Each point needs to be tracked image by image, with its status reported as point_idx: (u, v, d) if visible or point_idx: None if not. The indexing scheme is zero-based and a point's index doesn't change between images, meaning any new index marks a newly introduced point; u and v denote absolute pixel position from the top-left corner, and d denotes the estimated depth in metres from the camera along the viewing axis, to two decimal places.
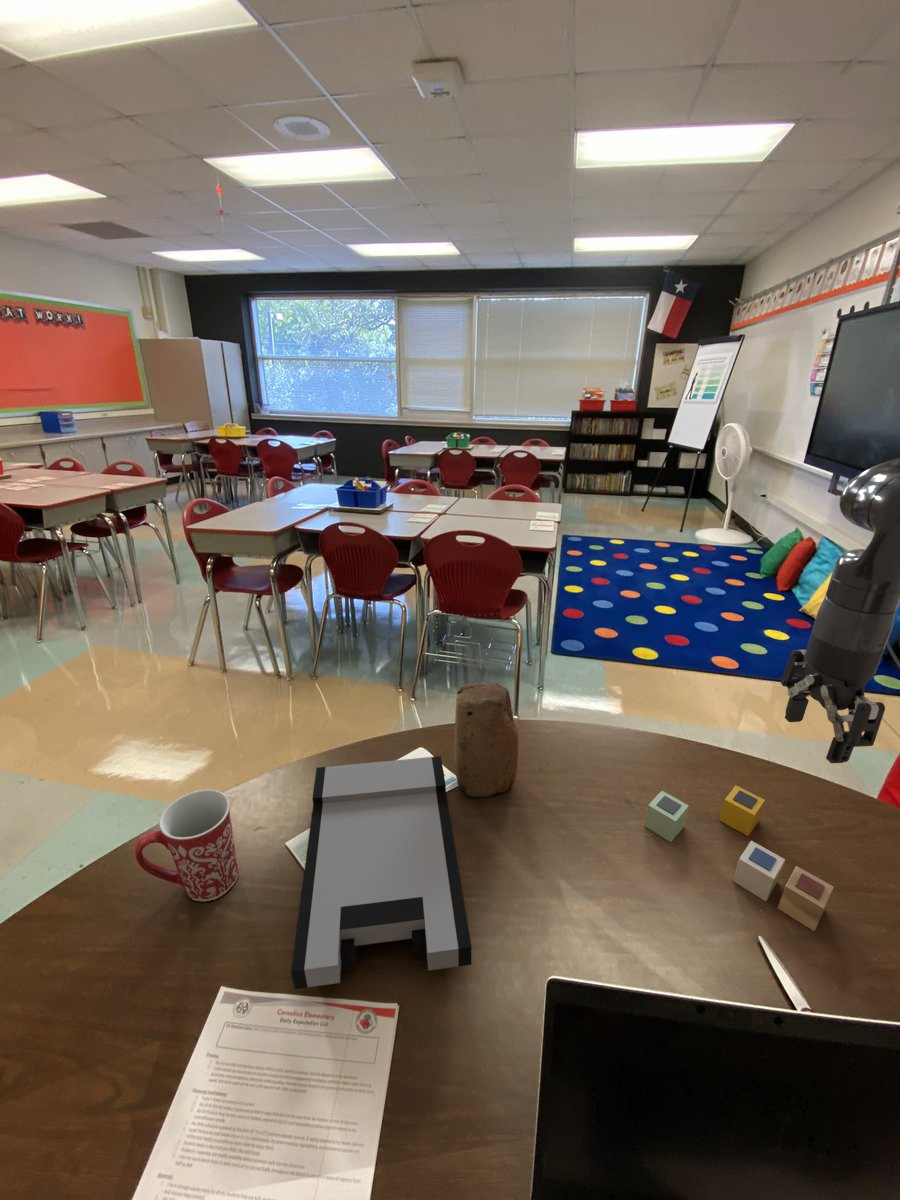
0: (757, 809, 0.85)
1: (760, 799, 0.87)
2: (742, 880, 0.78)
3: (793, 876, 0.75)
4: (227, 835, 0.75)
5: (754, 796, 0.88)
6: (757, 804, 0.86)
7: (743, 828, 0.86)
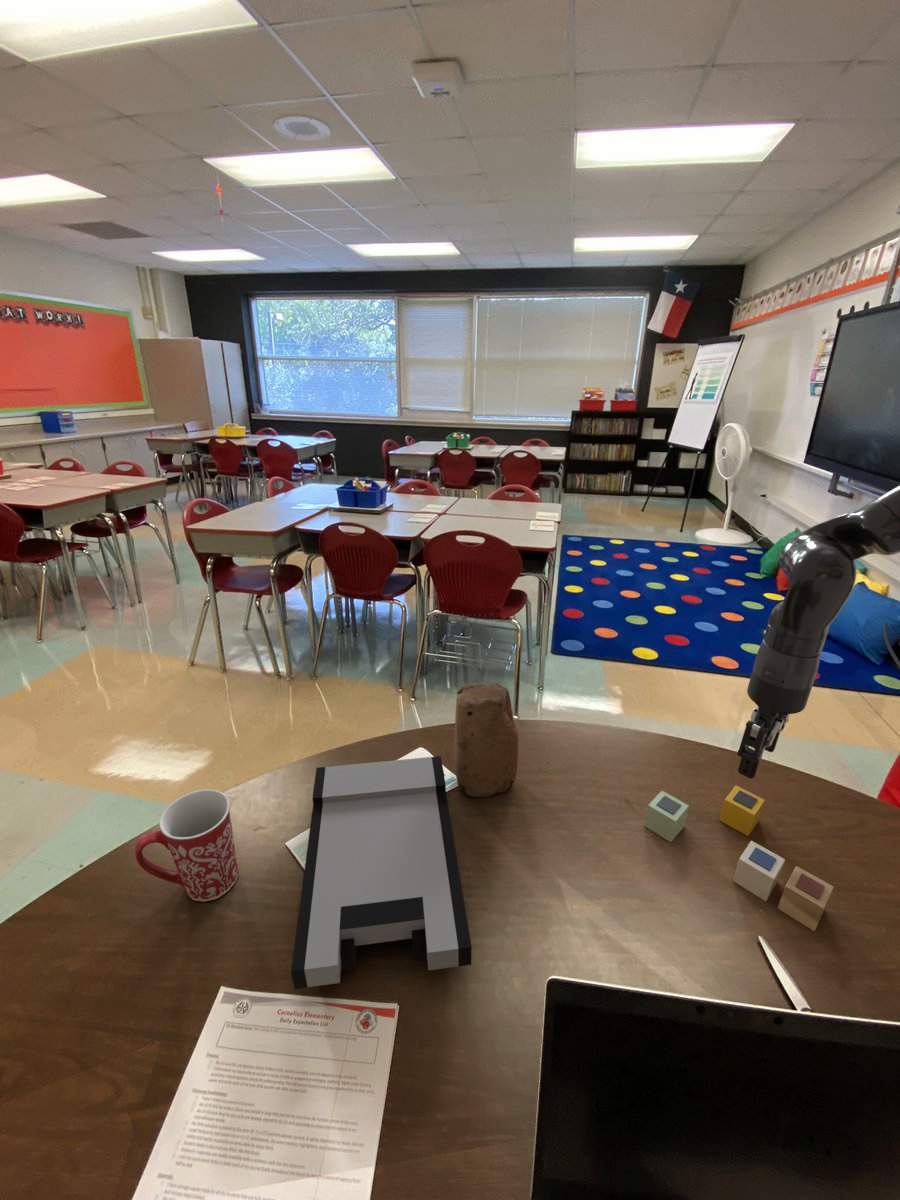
0: (757, 809, 0.85)
1: (760, 799, 0.87)
2: (742, 880, 0.78)
3: (793, 876, 0.75)
4: (227, 835, 0.75)
5: (754, 796, 0.88)
6: (757, 804, 0.86)
7: (743, 828, 0.86)
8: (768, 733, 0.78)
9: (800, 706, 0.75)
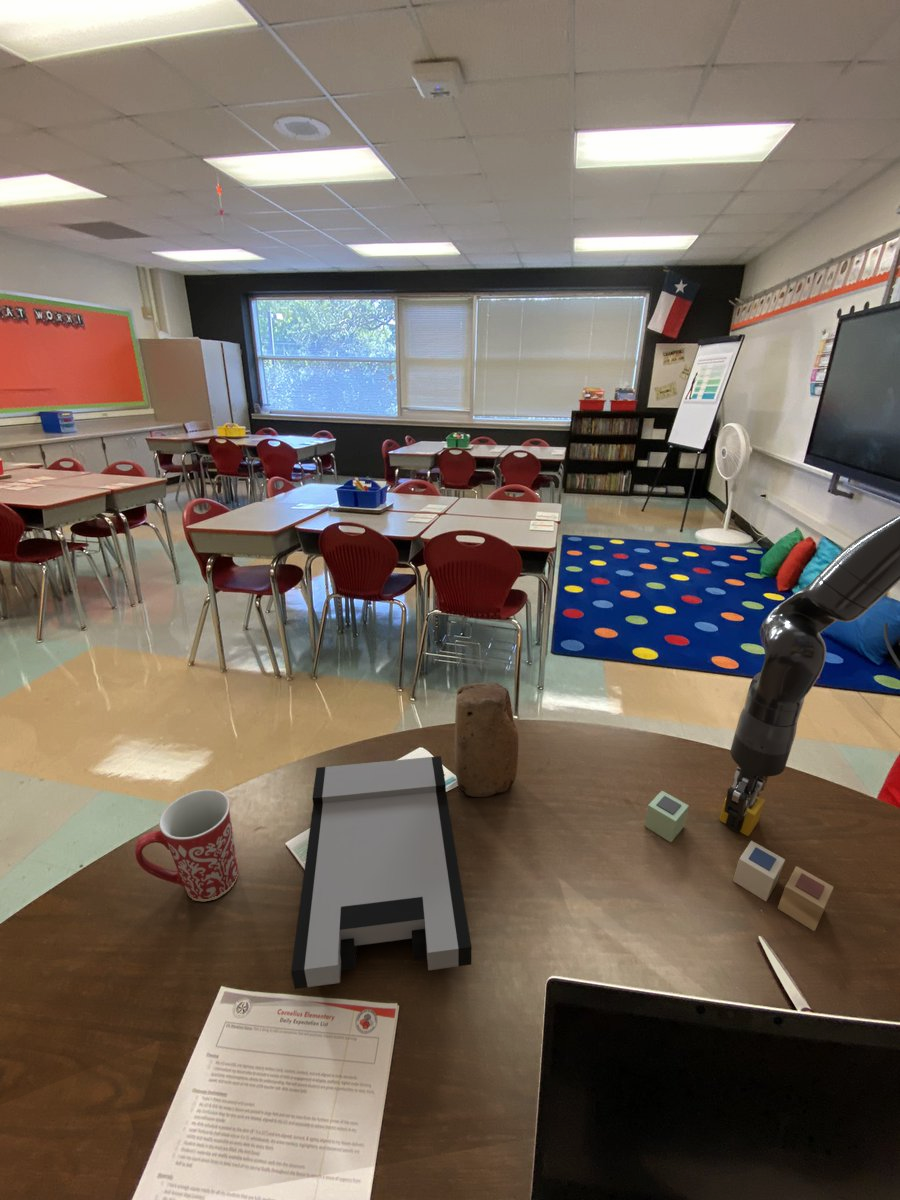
0: (757, 809, 0.85)
1: (760, 799, 0.87)
2: (742, 880, 0.78)
3: (793, 876, 0.75)
4: (227, 835, 0.75)
5: None
6: (757, 804, 0.86)
7: (743, 828, 0.86)
8: (750, 792, 0.83)
9: (779, 769, 0.80)
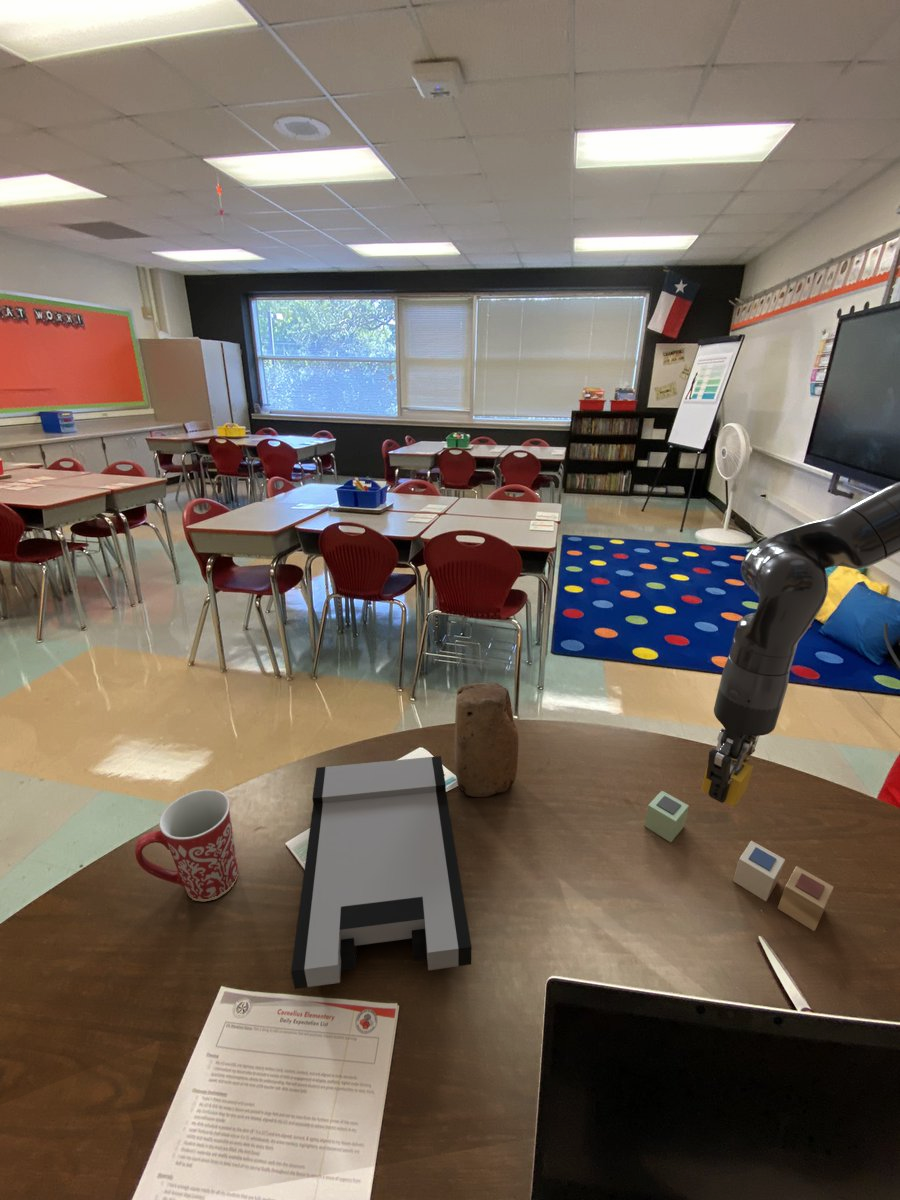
0: (744, 776, 0.75)
1: (747, 765, 0.77)
2: (742, 880, 0.78)
3: (793, 876, 0.75)
4: (227, 835, 0.75)
5: None
6: (743, 770, 0.76)
7: (728, 798, 0.76)
8: (735, 756, 0.73)
9: (769, 727, 0.70)
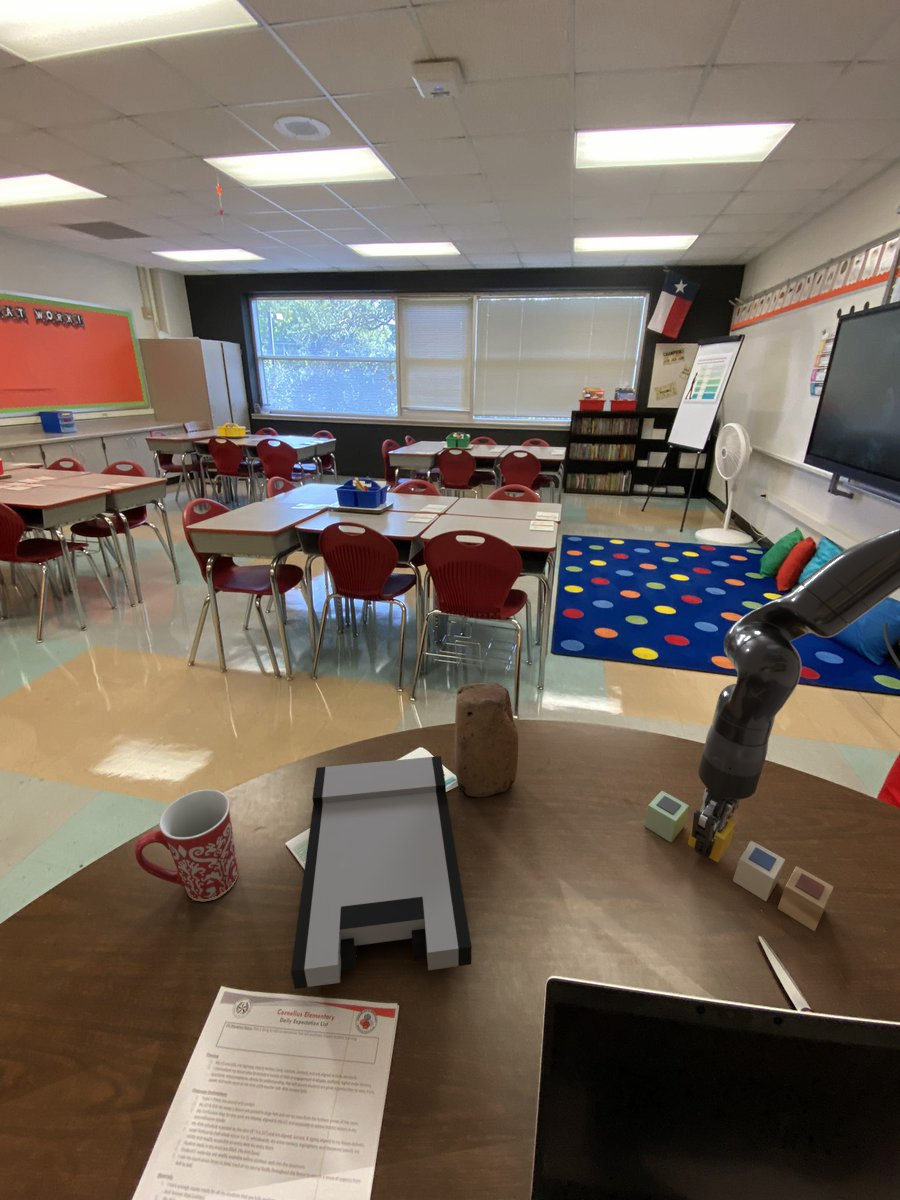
0: (727, 833, 0.79)
1: (730, 822, 0.81)
2: (742, 880, 0.78)
3: (793, 876, 0.75)
4: (227, 835, 0.75)
5: None
6: (727, 827, 0.80)
7: (712, 853, 0.80)
8: (719, 816, 0.77)
9: (749, 791, 0.74)
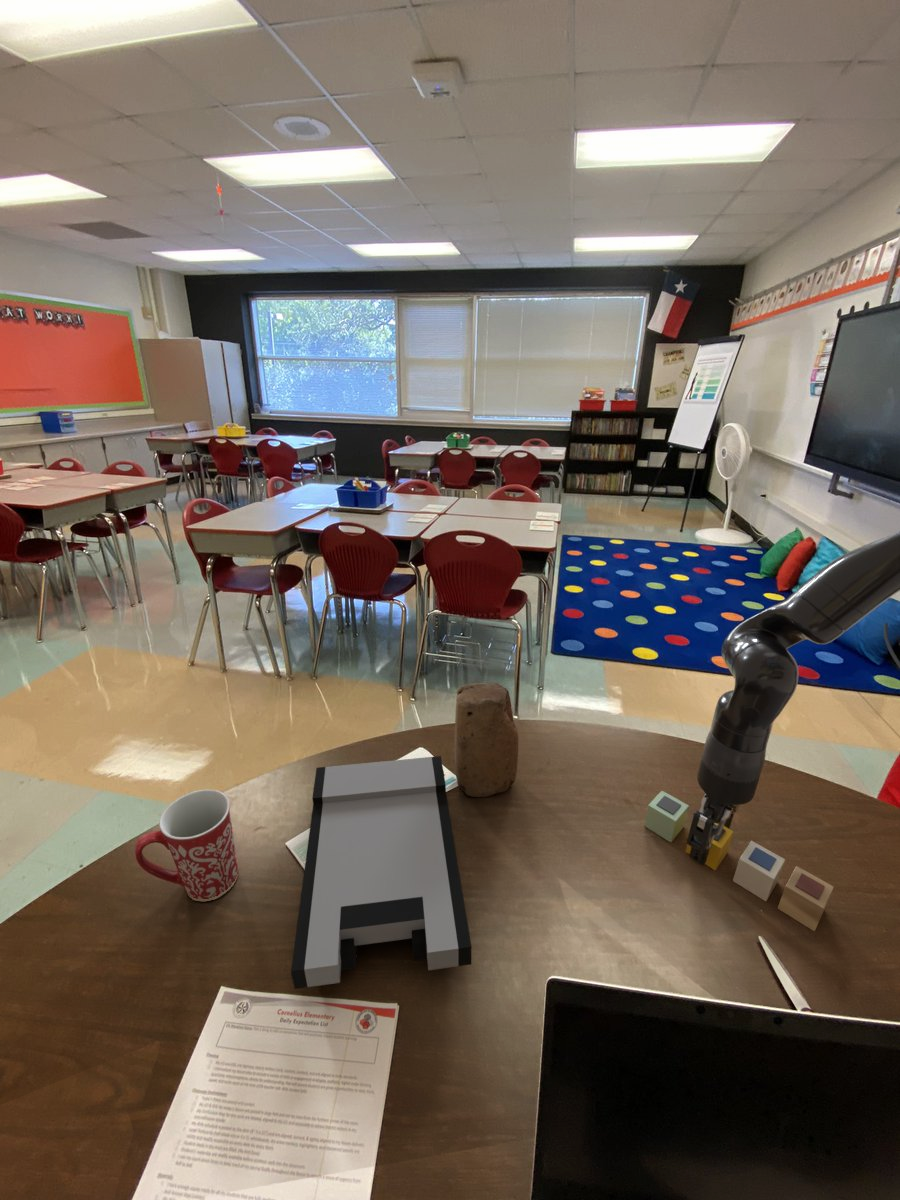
0: (724, 842, 0.80)
1: (728, 830, 0.82)
2: (742, 880, 0.78)
3: (793, 876, 0.75)
4: (227, 835, 0.75)
5: None
6: (724, 835, 0.81)
7: (710, 861, 0.81)
8: (717, 821, 0.78)
9: (748, 797, 0.74)
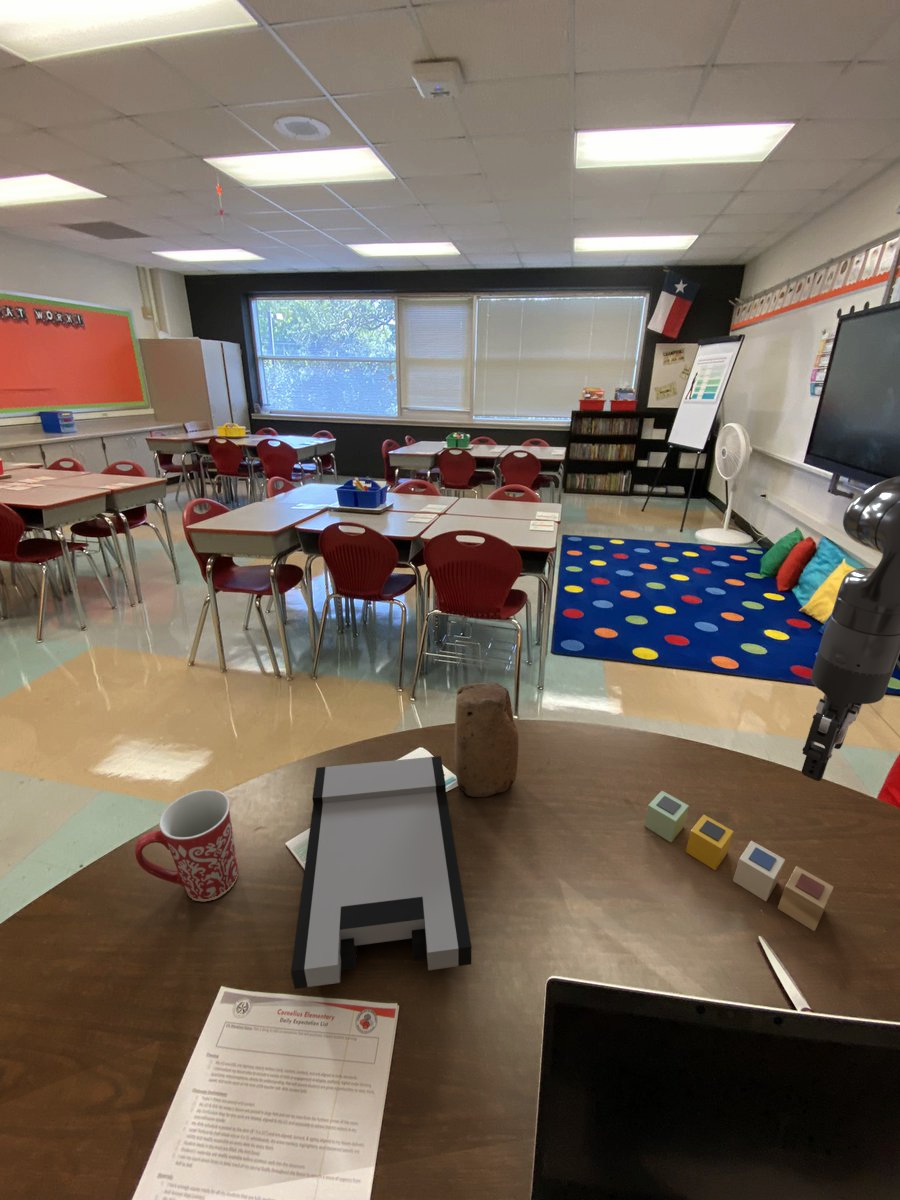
0: (724, 842, 0.80)
1: (728, 830, 0.82)
2: (742, 880, 0.78)
3: (793, 876, 0.75)
4: (227, 835, 0.75)
5: (722, 827, 0.82)
6: (724, 835, 0.81)
7: (710, 861, 0.81)
8: (839, 727, 0.66)
9: (880, 694, 0.63)
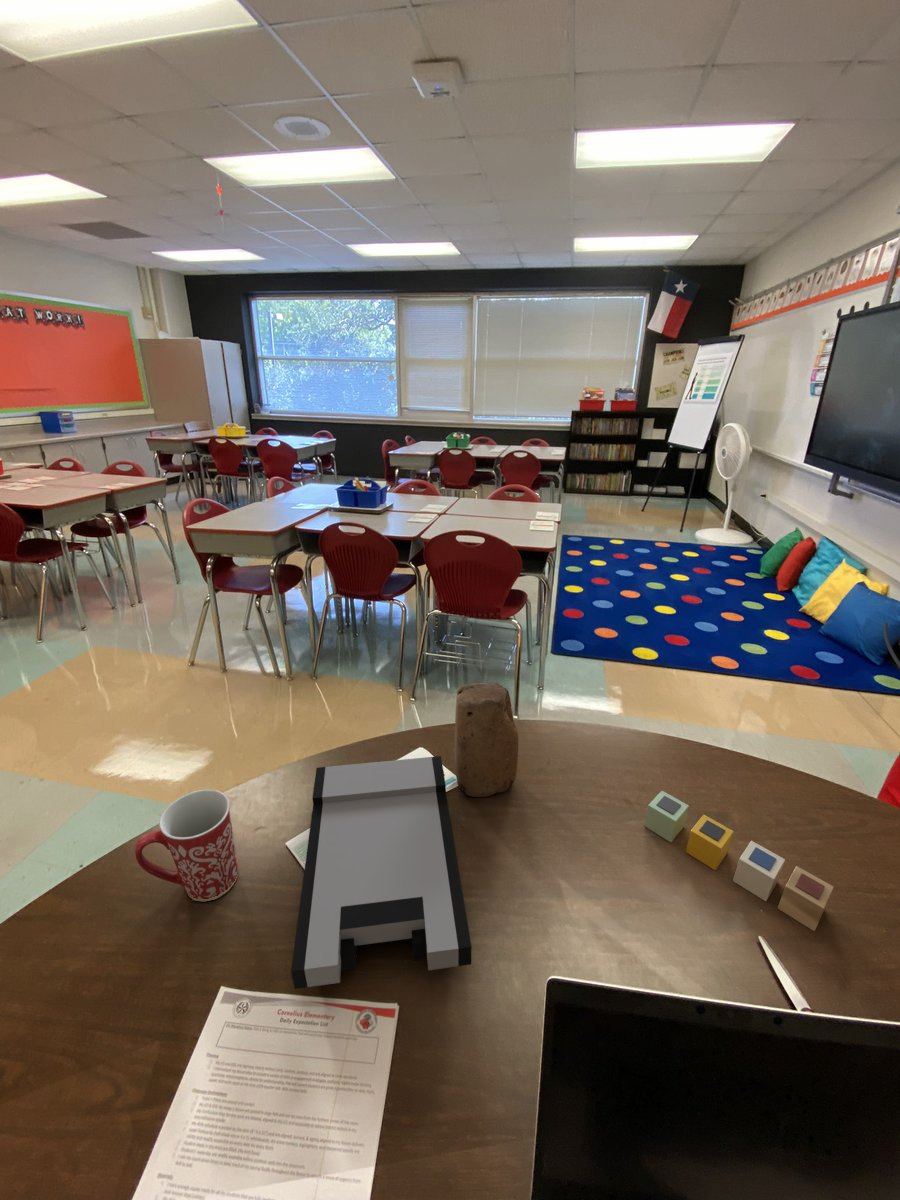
0: (724, 842, 0.80)
1: (728, 830, 0.82)
2: (742, 880, 0.78)
3: (793, 876, 0.75)
4: (227, 835, 0.75)
5: (722, 827, 0.82)
6: (724, 835, 0.81)
7: (710, 861, 0.81)
8: None
9: None
